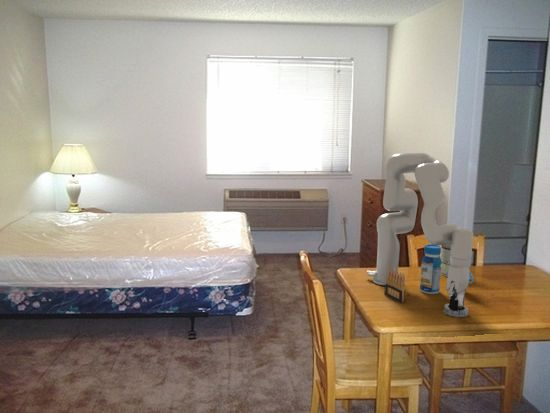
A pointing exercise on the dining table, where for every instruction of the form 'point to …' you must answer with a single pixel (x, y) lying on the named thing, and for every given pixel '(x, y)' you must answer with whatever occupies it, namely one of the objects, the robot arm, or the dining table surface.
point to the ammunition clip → (395, 286)
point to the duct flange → (456, 312)
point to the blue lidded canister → (431, 269)
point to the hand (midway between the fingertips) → (456, 306)
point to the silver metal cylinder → (460, 300)
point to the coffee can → (445, 258)
